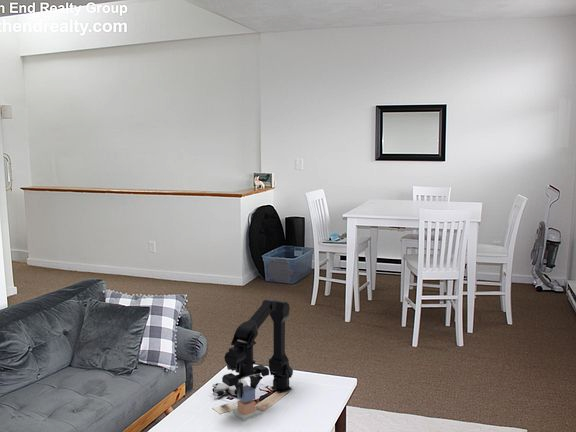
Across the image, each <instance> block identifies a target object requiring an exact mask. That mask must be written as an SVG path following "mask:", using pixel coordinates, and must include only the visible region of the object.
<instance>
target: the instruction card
mask: <svg viewBox="0 0 576 432" xmlns="http://www.w3.org/2000/svg"><path fill="white" fill-rule="evenodd" d="M237 408H238V405H237V404H235V403H233V402H232V401H231V402H226V403H223V404H221V405H218V406H215V407H214V406H213V407H212V410H214V411H215V412H216V413H218V414H219V415H222V414H225V413H228V412H232V410H234V409H237Z"/></svg>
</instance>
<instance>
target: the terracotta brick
mask: <svg viewBox="0 0 576 432" xmlns="http://www.w3.org/2000/svg"><path fill="white" fill-rule="evenodd" d="M237 406H238V411H239V412H241V413H242V414H244V415H246V414H249V413H252V412H255V409H256V401H255V400H254V399H253V400H250V401H248V402H243V401H242V400H240V399H238V400H237Z"/></svg>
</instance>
